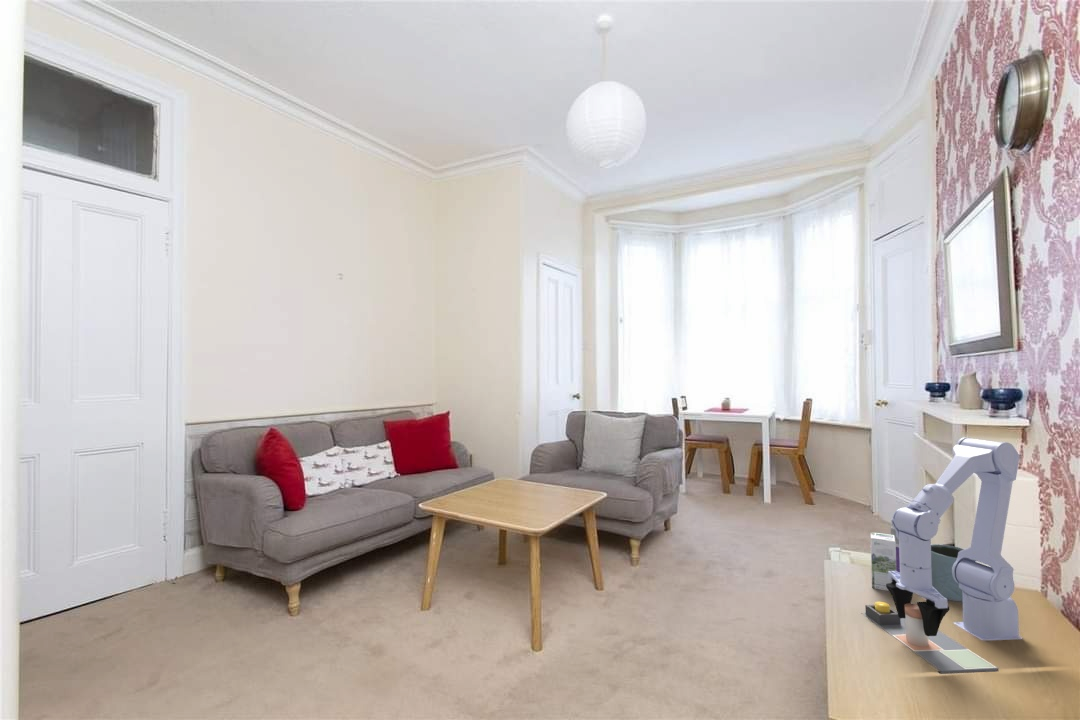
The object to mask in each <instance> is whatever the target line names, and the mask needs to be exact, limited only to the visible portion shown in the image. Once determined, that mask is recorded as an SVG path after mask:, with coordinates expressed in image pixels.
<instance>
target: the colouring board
mask: <svg viewBox="0 0 1080 720" xmlns="http://www.w3.org/2000/svg"><path fill="white" fill-rule="evenodd" d="M860 614H861V615H863V616H864V617H865V618H867V619H868V620H870V621H871V622H872V623H874V624H875V625H876V626H878V627H879V628H880V629H882V630H883V631H885V632H886V633H887V634H889V635H890V636H891V637H892V638H894V639H895V640H897V641H899V642H900V643H901V644H902V645H904V646H905V647H907V648H908V649H909V650H911V651H912V652H913V653H915V654H917V656H918V657H920V658H921V659H923V660H924V661H925V662H927V663H928V664H930V665H931V666H932V667H934V668H935V669H937V670H938V671H937V673H939V674H940V675H944V674H945V675H946V674H947V675H950V674H968V673H969V674H970V673H972V674H973V673H990V672H991V673H992V672H999V667H997V666H995V665H994V664H992V663H991V662H989V661H987V660H986V659H985V658H983V657H981V656H979V655H978V654H977V653H975V652H974V651H972V650H970V649H969V648H967V647H966V646H964V645H962V644H961V643H959V642H958V641H956V640H954V639H953V638H952V637H950V636H948V635H947V634H945V633H944V632H942V631H940V630H939V629H938V632H937V635H936V636H928V641H929V645H928V646H927V647H919V646H915V645H912V644H910V643H909V642H907V641H906V618H900V619H901V624H898V625H879V624H878V623H876V622H875V621H873V620H872V619H871V618H869V617H868V616H867V615H866V612H861V613H860Z"/></svg>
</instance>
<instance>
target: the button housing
mask: <svg viewBox="0 0 1080 720" xmlns="http://www.w3.org/2000/svg"><path fill="white" fill-rule="evenodd" d="M864 610H865V613H866V615H867V616H868V617H869V618H871V619H872V620H873V621H875V622H876V623H878V624H879V625H898V624H901V619H900V617H899V616H898V613H897V610H896V609H894V608H892V607H890V613H879V612H878V611H876V610H875V604H865V609H864Z"/></svg>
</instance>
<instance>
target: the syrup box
mask: <svg viewBox="0 0 1080 720" xmlns="http://www.w3.org/2000/svg"><path fill="white" fill-rule="evenodd" d="M888 571H896V542H895V536H894V535H891V534H890V533H889V534H888V533H879V532H873V531H872V532H870V573H871V575H870V577H871V588H872V589H876V590H882V591H888V592H889V590H888V589H887V587H886V584H887V583H891V582H892V581H890V580H889V579H888Z"/></svg>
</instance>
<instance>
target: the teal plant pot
mask: <svg viewBox="0 0 1080 720" xmlns="http://www.w3.org/2000/svg"><path fill="white" fill-rule="evenodd" d="M964 549H965V548H962V547H957V546H953V545H949V544H933V543H932V544H931V567H932V586H933V587H934V588H935V589H936V590H937V591H938V592H939V593H940V594H941V595H942V596H943V597H945V598H946V599H947V600H949V601H954V602H962V603H963V597H962V589H960V588H959V584H958V583H957V582H956V581H955V580H954V578H953V575H952V567H953V565H954V563H955V562H956V560H957V557H958V552H959V551H962V550H964Z"/></svg>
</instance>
